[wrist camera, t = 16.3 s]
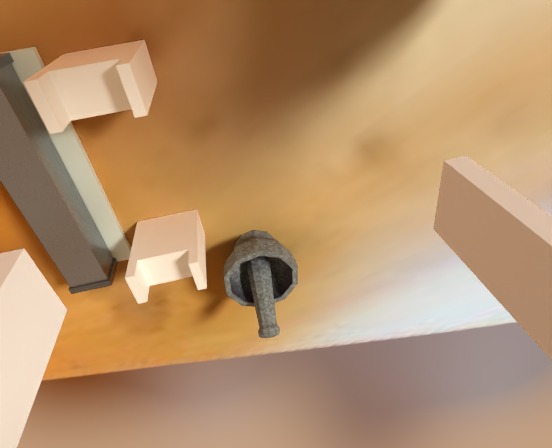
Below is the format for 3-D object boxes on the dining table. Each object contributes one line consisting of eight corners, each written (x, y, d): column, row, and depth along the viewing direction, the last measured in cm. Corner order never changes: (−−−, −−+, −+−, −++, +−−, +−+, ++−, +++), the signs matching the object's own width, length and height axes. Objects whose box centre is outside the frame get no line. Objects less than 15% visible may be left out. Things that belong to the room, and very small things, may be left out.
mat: (-65, 63, 34) (-70, 65, 33) (35, 46, 35) (32, 47, 34) (66, 269, 49) (64, 273, 49) (134, 254, 50) (133, 258, 49)
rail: (-47, 61, 34) (-75, 73, 30) (9, 52, 34) (-13, 62, 30) (80, 270, 49) (71, 293, 45) (117, 261, 49) (111, 285, 46)
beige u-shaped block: (137, 221, 47) (124, 278, 39) (197, 209, 48) (197, 262, 39) (147, 245, 50) (138, 303, 41) (204, 233, 50) (206, 288, 42)
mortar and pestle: (217, 224, 50) (222, 287, 40) (286, 214, 51) (307, 274, 41) (227, 284, 56) (234, 351, 46) (288, 275, 57) (306, 338, 48)
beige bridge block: (63, 53, 35) (22, 82, 27) (144, 39, 36) (129, 63, 27) (82, 95, 38) (49, 133, 29) (157, 81, 38) (147, 115, 30)
